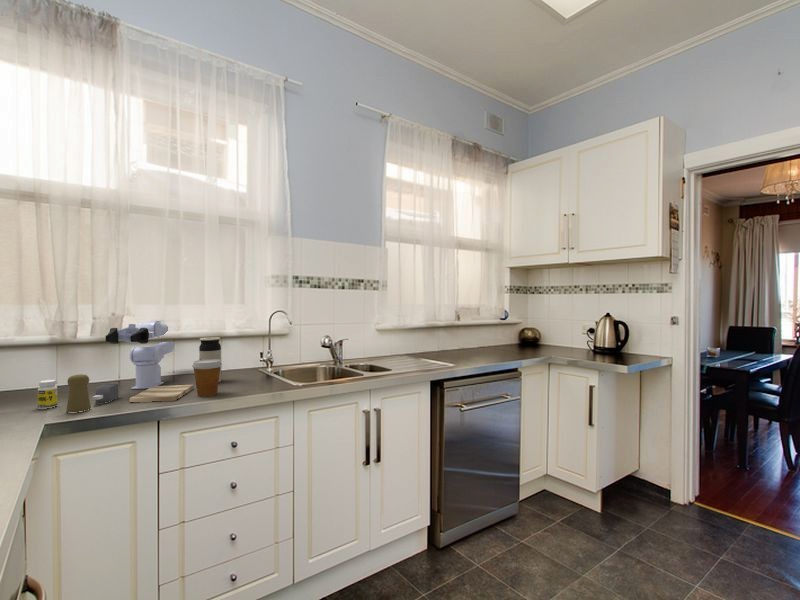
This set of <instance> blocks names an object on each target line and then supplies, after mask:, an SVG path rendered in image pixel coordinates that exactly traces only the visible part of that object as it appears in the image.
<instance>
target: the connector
mask: <svg viewBox="0 0 800 600" xmlns="http://www.w3.org/2000/svg"><path fill="white" fill-rule="evenodd" d="M116 398H118V399H119V383H118V382H110V383H109V382H108V383H105V384H102V385H100V386H97V387H95V395H94V396H91V400H92V401H95V404H96V403H105V402H109V401H111V400H114V399H116ZM116 400H117V399H116ZM114 401H115V400H114ZM111 402H112V401H111ZM109 403H110V402H109ZM105 404H106V403H105Z"/></svg>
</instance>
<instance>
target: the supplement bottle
mask: <svg viewBox="0 0 800 600" xmlns="http://www.w3.org/2000/svg"><path fill="white" fill-rule="evenodd" d="M58 393H59V392H58V386H57V381H56V379H45V380H41V381H39V382H38V388H37V409H38V410H48V409H47V408H50V409H53V408H52V407H54V408H56V407H55V406H57V407H58V406H59V405H58V402H59V401H58Z"/></svg>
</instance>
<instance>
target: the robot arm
mask: <svg viewBox="0 0 800 600" xmlns="http://www.w3.org/2000/svg"><path fill="white" fill-rule="evenodd" d="M167 331H168V326H167V325H166V323H165V322H162V320H155V321H154V320H153V321H152V320H151V321H150V322H140V323H139V324H138V325H136V324H135V323H129V324H128V326H127V327H125V328H122V329H119V328H118V327H111V328H109V332H107V334H106V335H105V342H106V343H110V344H112V345H115V344H119V343H120V342H119V341H122V342H125V343H128V344H136V343H139V344H148V343H149V339H154V338H156V337H158V338H160V337H161V336H162V335H164V334H165V333H166V332H167ZM173 349H174V342H162V343H161V342H159V343H156V344H153V345H149V346H133V347H132V348H131V349H130V352H129V359H130V362H131V363H133V365H134V366H135V385H134V386H132V387H130V389H131V390H135V389H136V390H138V389H139V390H141V389H149V388H151V387H153V386H162V385H163V384H164V381H162V375H161V374H162V368H161V365H160V362H161V361H162V359H164V358H165V355H168V354H170V353H172V352H174V351H173Z"/></svg>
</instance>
